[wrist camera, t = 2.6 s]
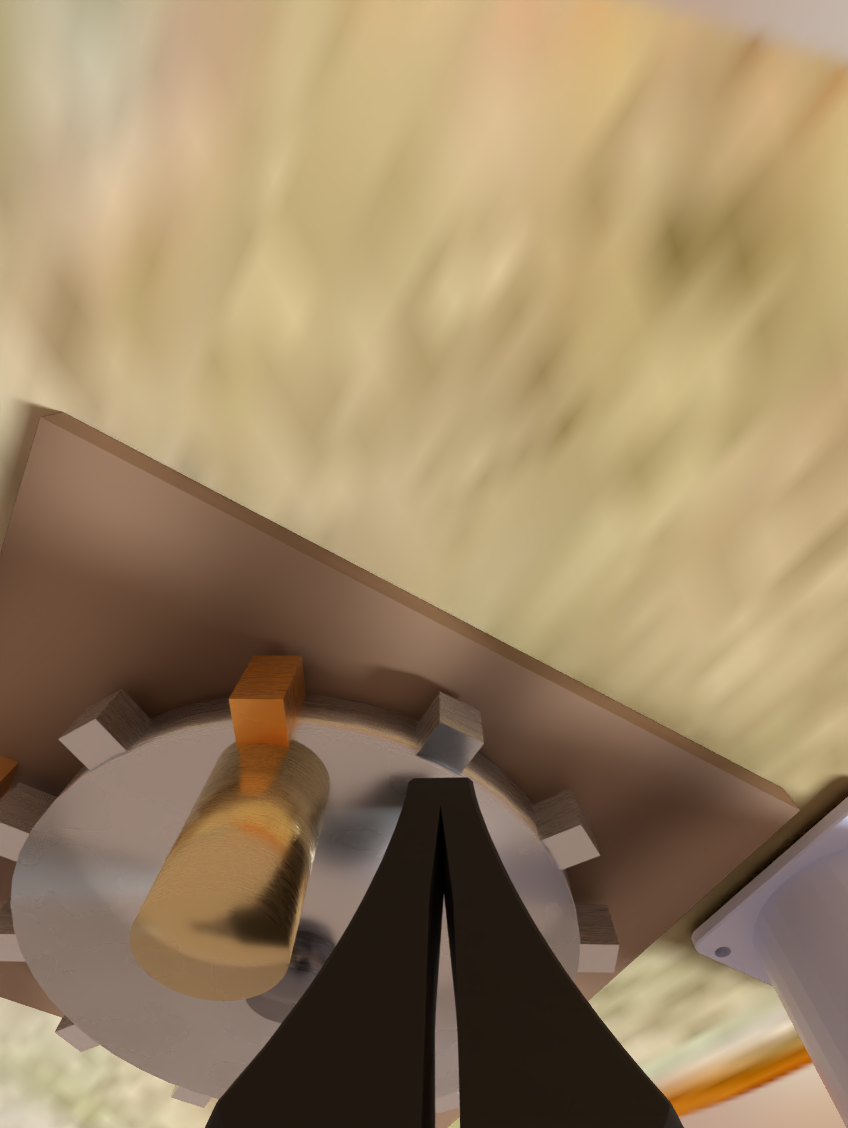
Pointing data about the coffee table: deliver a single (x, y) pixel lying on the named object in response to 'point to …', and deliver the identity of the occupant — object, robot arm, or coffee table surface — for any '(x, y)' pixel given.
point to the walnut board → (326, 674)
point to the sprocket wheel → (251, 867)
